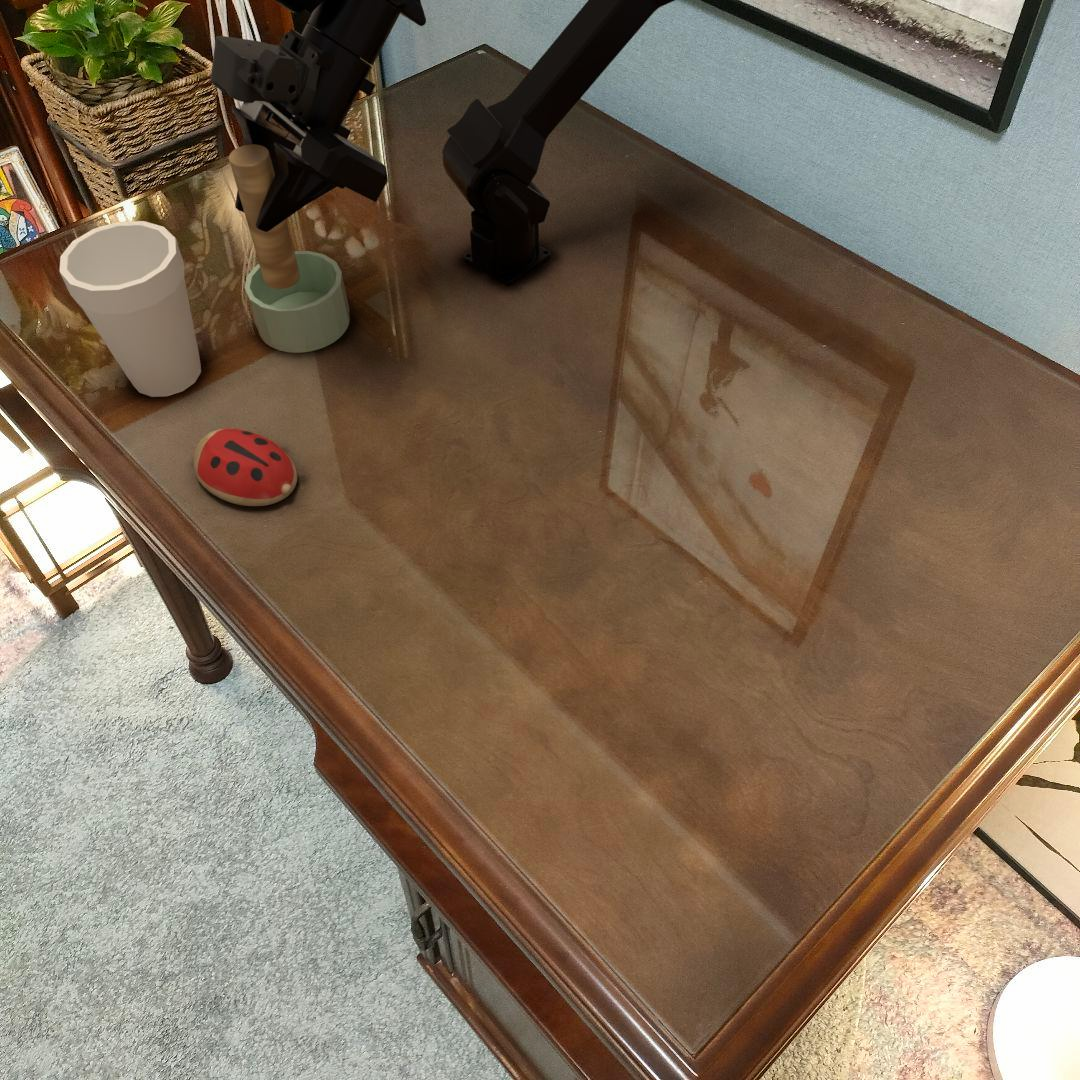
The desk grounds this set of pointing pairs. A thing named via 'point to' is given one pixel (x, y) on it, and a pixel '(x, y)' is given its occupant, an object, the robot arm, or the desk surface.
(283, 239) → the pestle
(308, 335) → the celadon cup
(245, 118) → the robot arm
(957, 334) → the desk surface
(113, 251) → the foam cup
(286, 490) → the ladybug figurine
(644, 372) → the desk surface
